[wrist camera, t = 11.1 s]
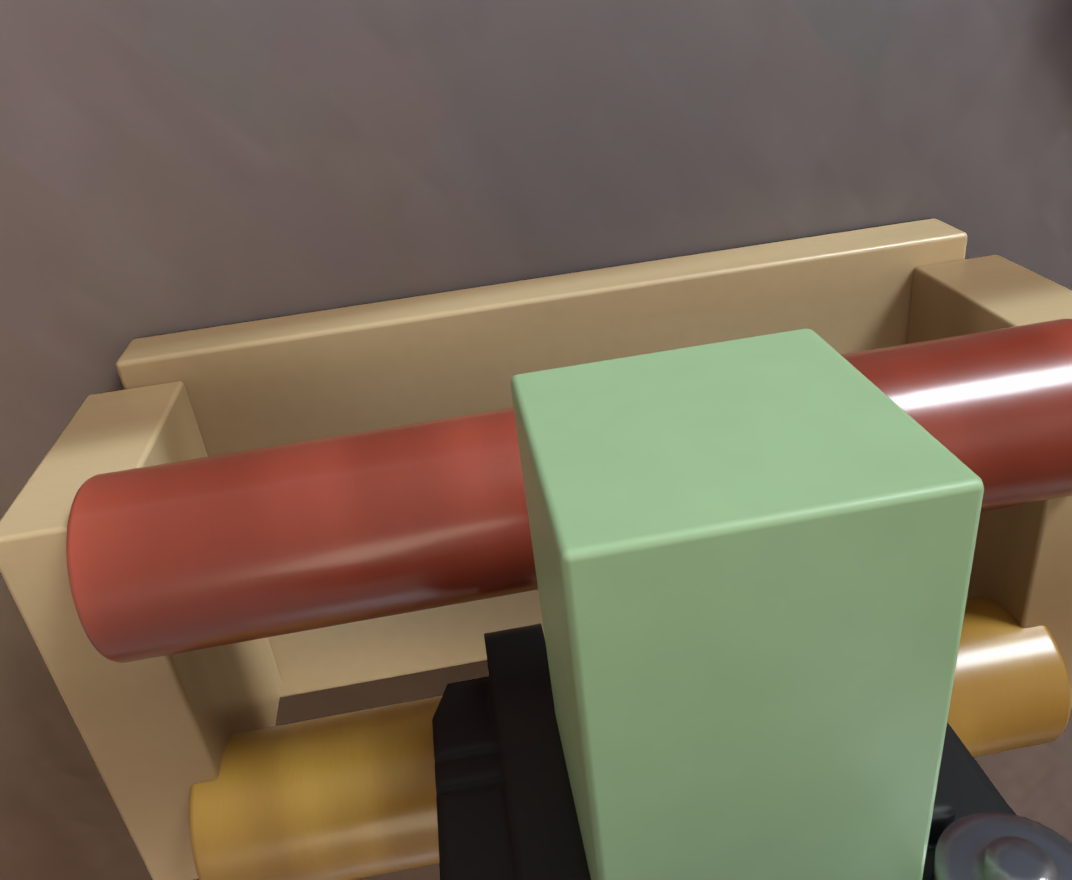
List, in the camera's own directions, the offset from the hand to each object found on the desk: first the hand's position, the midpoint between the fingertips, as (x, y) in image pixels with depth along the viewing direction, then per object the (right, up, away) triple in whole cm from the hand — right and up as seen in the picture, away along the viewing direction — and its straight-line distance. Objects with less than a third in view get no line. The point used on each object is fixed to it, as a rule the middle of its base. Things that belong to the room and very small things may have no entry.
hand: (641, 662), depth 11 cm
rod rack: (-1, +2, +5) cm, 5 cm away
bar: (0, -1, -1) cm, 2 cm away
